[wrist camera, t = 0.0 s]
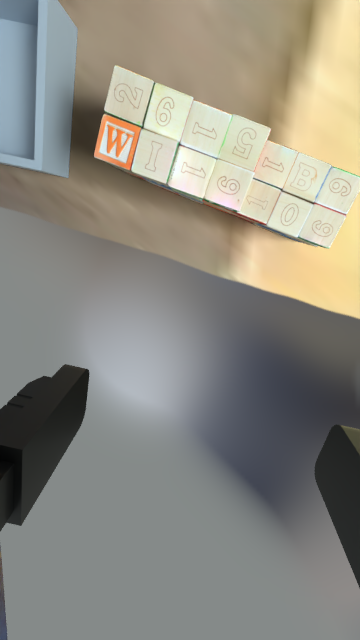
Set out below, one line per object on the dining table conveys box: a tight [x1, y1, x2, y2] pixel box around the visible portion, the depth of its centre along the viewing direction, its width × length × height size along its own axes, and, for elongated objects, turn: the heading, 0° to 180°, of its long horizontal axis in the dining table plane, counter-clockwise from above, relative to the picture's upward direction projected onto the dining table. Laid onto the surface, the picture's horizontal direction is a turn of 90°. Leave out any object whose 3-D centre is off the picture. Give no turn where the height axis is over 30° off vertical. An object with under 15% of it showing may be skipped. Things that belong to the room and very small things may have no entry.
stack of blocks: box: [94, 65, 360, 248], centre depth 28 cm, size 21×6×12 cm, turn 70°
